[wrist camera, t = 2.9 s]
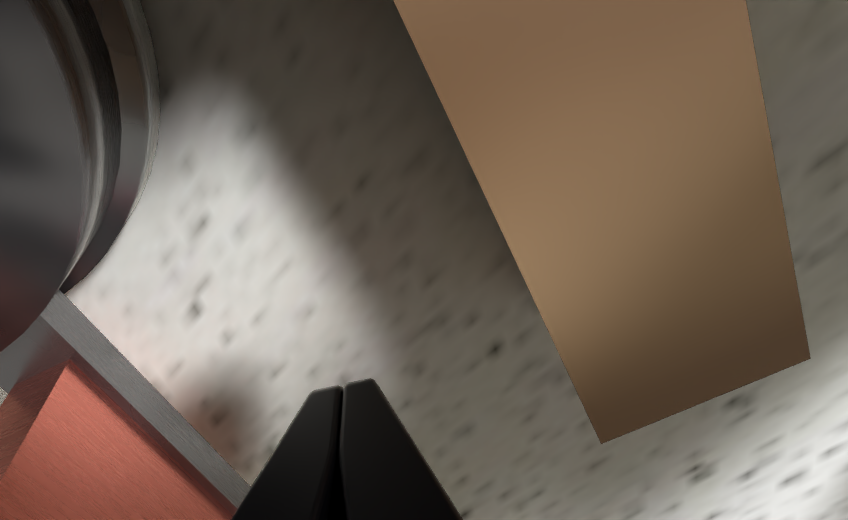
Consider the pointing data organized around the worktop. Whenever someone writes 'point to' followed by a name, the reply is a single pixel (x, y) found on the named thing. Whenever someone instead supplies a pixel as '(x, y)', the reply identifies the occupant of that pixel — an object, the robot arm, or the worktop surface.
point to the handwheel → (58, 317)
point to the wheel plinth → (126, 120)
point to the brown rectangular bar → (627, 188)
